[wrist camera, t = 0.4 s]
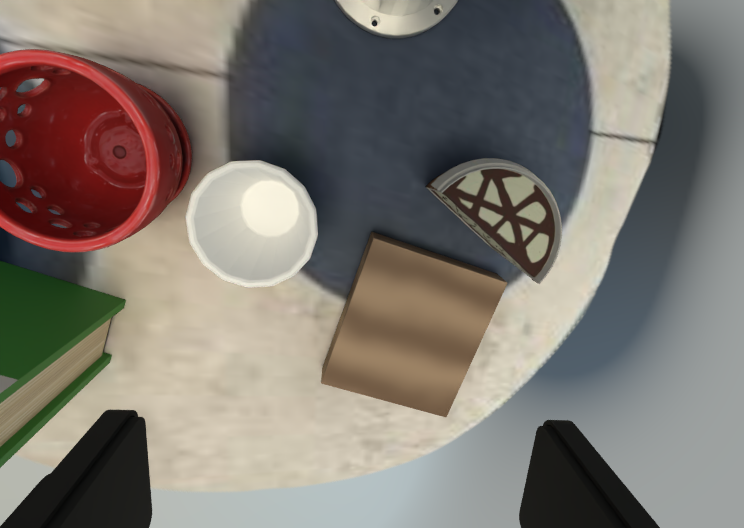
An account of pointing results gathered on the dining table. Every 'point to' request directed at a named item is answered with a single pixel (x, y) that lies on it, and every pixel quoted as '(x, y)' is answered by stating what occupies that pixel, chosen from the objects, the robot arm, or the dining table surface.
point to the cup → (251, 223)
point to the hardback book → (46, 348)
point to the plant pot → (85, 152)
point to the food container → (505, 211)
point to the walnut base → (411, 326)
